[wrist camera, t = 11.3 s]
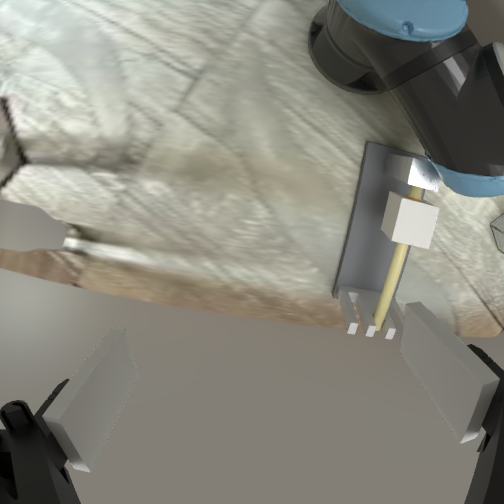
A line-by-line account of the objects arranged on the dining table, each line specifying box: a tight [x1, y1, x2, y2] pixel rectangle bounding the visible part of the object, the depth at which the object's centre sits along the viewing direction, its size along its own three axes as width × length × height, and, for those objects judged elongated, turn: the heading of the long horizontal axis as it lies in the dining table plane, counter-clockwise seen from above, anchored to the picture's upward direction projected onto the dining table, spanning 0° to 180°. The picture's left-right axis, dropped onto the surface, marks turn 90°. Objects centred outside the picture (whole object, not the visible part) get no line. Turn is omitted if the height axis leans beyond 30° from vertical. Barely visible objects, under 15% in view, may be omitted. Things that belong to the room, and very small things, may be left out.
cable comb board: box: [332, 142, 441, 340], centre depth 40 cm, size 24×10×12 cm, turn 172°
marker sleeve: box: [381, 191, 440, 249], centre depth 36 cm, size 5×5×5 cm
